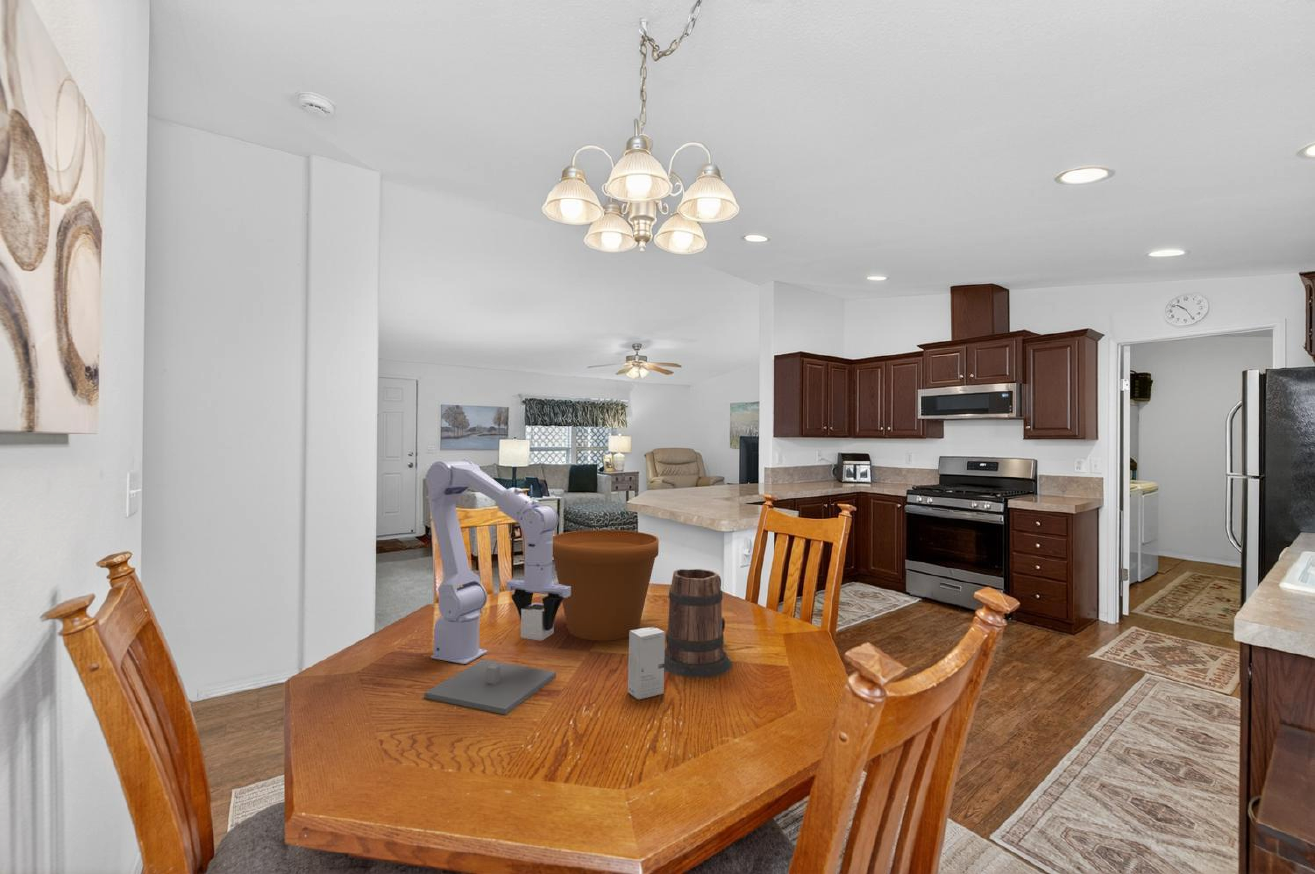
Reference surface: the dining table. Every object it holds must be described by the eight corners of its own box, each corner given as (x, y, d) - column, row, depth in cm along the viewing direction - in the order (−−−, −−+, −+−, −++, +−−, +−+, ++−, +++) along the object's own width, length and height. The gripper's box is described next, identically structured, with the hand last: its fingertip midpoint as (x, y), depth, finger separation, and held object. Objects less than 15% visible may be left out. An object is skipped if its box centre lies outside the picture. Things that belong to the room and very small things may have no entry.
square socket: (520, 637, 123) (521, 608, 123) (533, 630, 128) (533, 602, 128) (541, 640, 122) (542, 611, 122) (553, 633, 126) (554, 605, 126)
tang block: (424, 697, 111) (424, 676, 111) (482, 663, 128) (483, 645, 128) (505, 714, 105) (506, 692, 105) (555, 676, 122) (556, 657, 122)
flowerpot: (676, 624, 158) (678, 536, 158) (614, 656, 134) (616, 553, 134) (594, 606, 173) (596, 526, 173) (525, 632, 149) (527, 539, 149)
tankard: (713, 684, 120) (715, 586, 120) (642, 667, 128) (644, 575, 128) (753, 649, 141) (754, 565, 141) (689, 636, 149) (690, 557, 149)
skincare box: (638, 700, 112) (639, 637, 112) (626, 692, 116) (627, 630, 116) (665, 693, 115) (666, 631, 115) (652, 685, 119) (653, 625, 119)
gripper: (578, 562, 126) (576, 625, 126) (519, 556, 131) (518, 617, 131) (562, 569, 119) (560, 636, 119) (501, 562, 124) (499, 627, 124)
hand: (537, 627), depth 125 cm, fingers closed on square socket, 5 cm apart
